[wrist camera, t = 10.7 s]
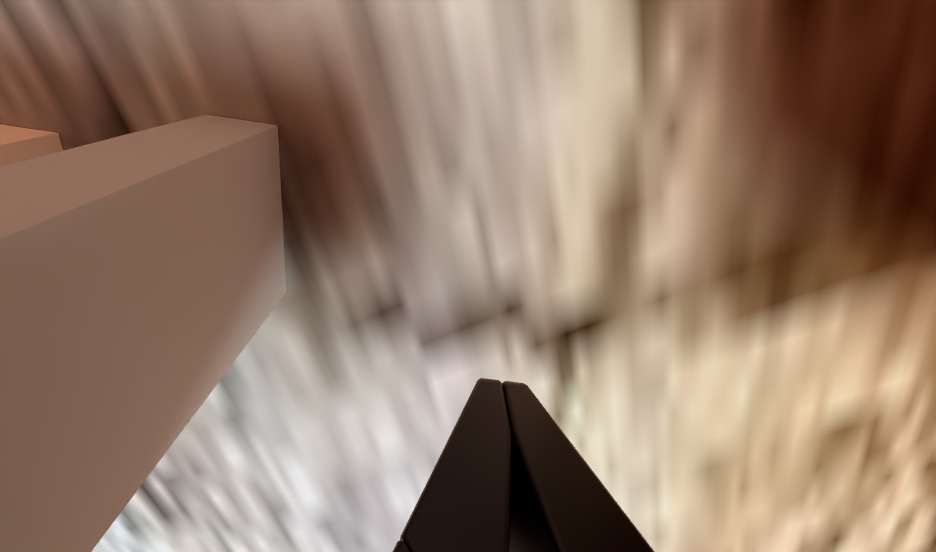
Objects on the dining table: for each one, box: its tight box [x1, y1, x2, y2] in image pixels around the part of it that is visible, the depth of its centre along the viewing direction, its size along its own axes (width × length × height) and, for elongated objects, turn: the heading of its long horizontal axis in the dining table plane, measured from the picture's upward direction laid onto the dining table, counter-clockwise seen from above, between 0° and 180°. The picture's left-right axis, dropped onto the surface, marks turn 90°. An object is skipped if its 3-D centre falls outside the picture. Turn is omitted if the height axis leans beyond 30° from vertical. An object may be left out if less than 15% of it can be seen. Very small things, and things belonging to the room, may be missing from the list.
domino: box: [0, 114, 286, 552], centre depth 7 cm, size 4×2×8 cm, turn 172°
